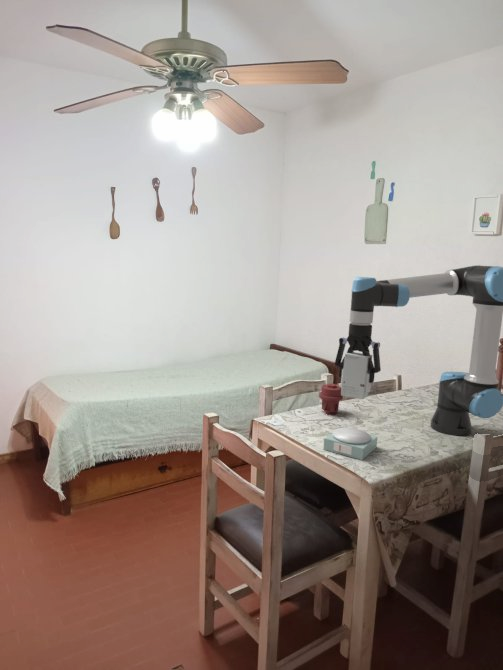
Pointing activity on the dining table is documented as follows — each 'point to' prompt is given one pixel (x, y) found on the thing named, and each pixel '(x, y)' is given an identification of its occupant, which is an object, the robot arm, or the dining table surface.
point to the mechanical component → (330, 398)
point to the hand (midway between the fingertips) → (355, 389)
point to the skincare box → (355, 375)
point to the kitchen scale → (350, 442)
